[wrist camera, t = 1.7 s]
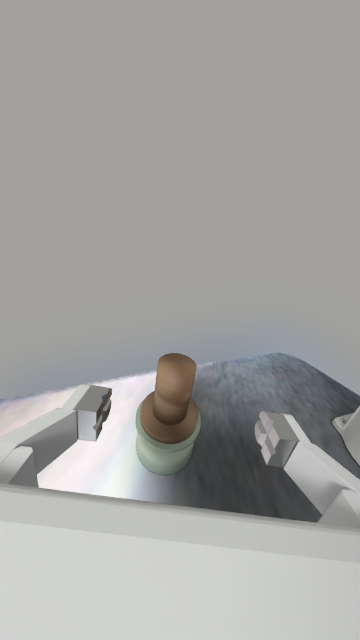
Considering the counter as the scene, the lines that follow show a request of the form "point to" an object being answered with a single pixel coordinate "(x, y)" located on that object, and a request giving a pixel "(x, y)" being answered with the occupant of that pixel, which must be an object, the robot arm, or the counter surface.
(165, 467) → the canister
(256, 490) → the counter surface
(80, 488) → the counter surface
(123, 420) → the counter surface
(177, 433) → the lid
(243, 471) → the counter surface
